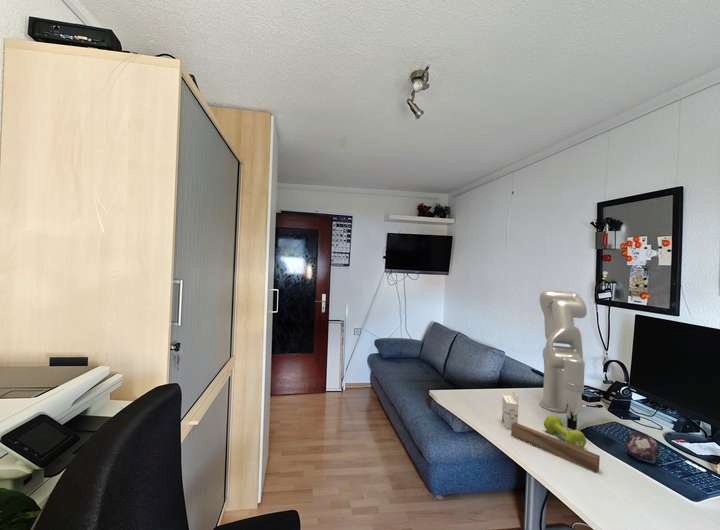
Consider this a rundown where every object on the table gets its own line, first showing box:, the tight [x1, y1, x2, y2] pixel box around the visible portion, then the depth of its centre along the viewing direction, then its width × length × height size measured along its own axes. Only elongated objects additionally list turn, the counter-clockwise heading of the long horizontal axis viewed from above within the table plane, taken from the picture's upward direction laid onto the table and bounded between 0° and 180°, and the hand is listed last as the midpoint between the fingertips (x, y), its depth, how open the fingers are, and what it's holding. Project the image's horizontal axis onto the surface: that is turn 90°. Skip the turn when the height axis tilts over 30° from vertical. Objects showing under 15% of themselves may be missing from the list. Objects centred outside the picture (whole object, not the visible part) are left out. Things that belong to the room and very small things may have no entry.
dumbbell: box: [543, 414, 587, 449], centre depth 134 cm, size 16×8×7 cm, turn 6°
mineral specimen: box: [624, 430, 661, 463], centre depth 123 cm, size 10×10×10 cm
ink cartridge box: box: [501, 390, 519, 430], centre depth 145 cm, size 9×5×15 cm, turn 168°
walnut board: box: [510, 422, 601, 473], centre depth 125 cm, size 3×30×5 cm, turn 40°
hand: (571, 428), depth 140 cm, fingers closed
